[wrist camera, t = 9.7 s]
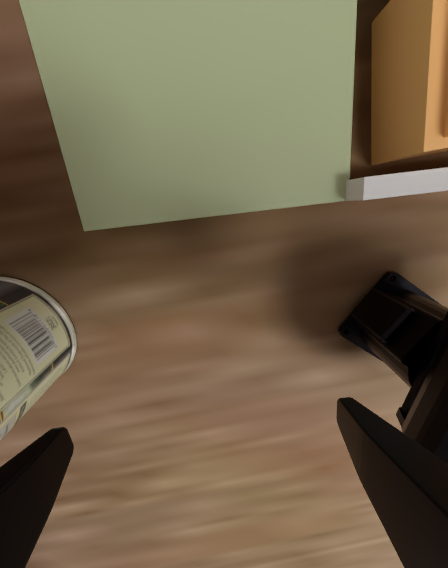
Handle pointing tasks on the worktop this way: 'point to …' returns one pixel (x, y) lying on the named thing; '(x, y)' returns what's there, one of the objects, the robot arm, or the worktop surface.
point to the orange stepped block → (409, 80)
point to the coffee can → (30, 347)
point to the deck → (204, 106)
